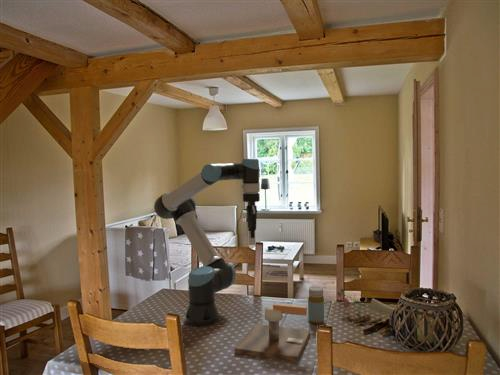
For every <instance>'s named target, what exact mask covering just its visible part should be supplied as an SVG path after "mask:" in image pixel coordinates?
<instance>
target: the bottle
mask: <svg viewBox="0 0 500 375" xmlns="http://www.w3.org/2000/svg"><path fill="white" fill-rule="evenodd" d="M307 300H308V301H307V318H308V322H309V323H311V324H313V325H321V324H323V323H325V298H324V288H323V287H321V286H310V287H309V288H308V298H307Z"/></svg>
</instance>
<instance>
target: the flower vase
mask: <svg viewBox="0 0 500 375" xmlns="http://www.w3.org/2000/svg"><path fill="white" fill-rule="evenodd" d="M342 293H344V294H342ZM336 295H337V297H338V298H339V297H340V298H341V296H342V297H343V301H342V304H343V307H344V308H345V309H349V307H350V304H352V305H353V306H354V305H358V306H359V307H357V309H356V310H355V312H356V314H358V317H359V318H361V311H360V310H362V307H364V306H365V307H368V308H369V312H374V313H377V314H381V315H388V316H391V313H392V312H393V310H394V309H396V308H394V307H392V306H389V305H387V304H384V303H383V302H381V301H379V300H378V299H375V298H373V297H372V299H371V301H370V305H367V304H364V303H363V302H361V301H359V299H357V300H356V299H355V298H356V295H354V296H353V297H354V298H353V297H351V296H350V295H348V296H347V295H346V294H345V289H343V287H342V286H341V289H340V290H338V291H337V293H336ZM349 298H350V300H352V301H354V302H349V301H350V300H349ZM359 309H360V310H359ZM364 311H366V309H364V310H363V312H364Z"/></svg>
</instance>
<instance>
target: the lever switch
mask: <svg viewBox="0 0 500 375" xmlns="http://www.w3.org/2000/svg"><path fill="white" fill-rule="evenodd" d="M284 314H285V315H295V316H302V317H303V316H305V317H306V316H308V305H307V306H306V305H297V304H287V303H286V304H285V303H277V302H276V303H275V302H274V303H273V304H271V305H266V306H265V307H264V319H265V321H267V322H269V321H270V322H277V321H279V322H281V321H282V320H283V318H284V317H283V315H284Z"/></svg>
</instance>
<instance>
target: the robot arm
mask: <svg viewBox="0 0 500 375" xmlns="http://www.w3.org/2000/svg"><path fill="white" fill-rule="evenodd" d="M232 180H233V181H234V180H237V181H238V180H242V185H241V189H242V192H243V193H242V202H244V203H247V205H246V207H245V209H246V220H247V221H246V222H247V231H248V245H249V246H256V230H257V214H258V209H257V205H256V203H258V202H260V191H261V190H260V188H261V187H260V184H261V183H260V161H259V159H258V158H243V159H242V160H241V162H237V163H236V162H235V163H232V162H227V163H206V164H205V165H204V166H203V167H202V169H201V171H199V173H197V174H195V175H194V176H193V177H191V178H189V179H188V180H187V181H185V182H183V183H182V184H180V185H179V186H177V187H175V189H173V190H172V191H170V192H164V193H163V194H161V195H160V196H158V198H156V200H155V201H154V205H153V208H154V213H155V214H156V215H157V216H158V217H159V218H161V219H165V220H171V219H173V221H174V223H175V224H176V225H178V226H180V227H181V229H182V231H183V232H184V234H185V236H186V237H187V239H188V240H189V243H190V245H191V246H192V248H193V250H194V252H195V254H196V255H197V257H198V259H199V261H200V262H201V264H202V266H200V267H195V268H193V269H191V270H190V271H189V272H188V279H187V280H188V281H187V283H188V306H187V310H186V314H185V323H186V324H187V325H189V326H193V327H206V326H207V327H208V326H211V325H214V324H216V323H218V322H219V319H220V313H219V311H218V307H217V306H216V303H215V301H216V300H215V298H216V297H215V296H216V295H215V294H216V293H218V292H220V291H222V290H226V289H228V288H230V287H231V286H232V285H233V284H234V283H235V281H236V276H237V271H236V269H235V267H234V266H233V264H232V263H230V262H226V261H225V259H224V257H222V256H219V255H218V253H217V252H216V249H215V248H214V246H213V245H212V243H211V241H210V239H209V238H208V236H207V235H206V233H205V231H204V230H203V227H202V226H201V224H200V222H199V221H198V219H197V217H196V215H197V211H196V210H197V207H196V206H197V204H196V201H195V199H194V198H193V197H195V196H197V195H198V194H199V193H201V192H203V191H204V190H205V189H208V188H209V187H211V186H212V185H214V184H215V183H218V181H219V182H220V181H232Z"/></svg>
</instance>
